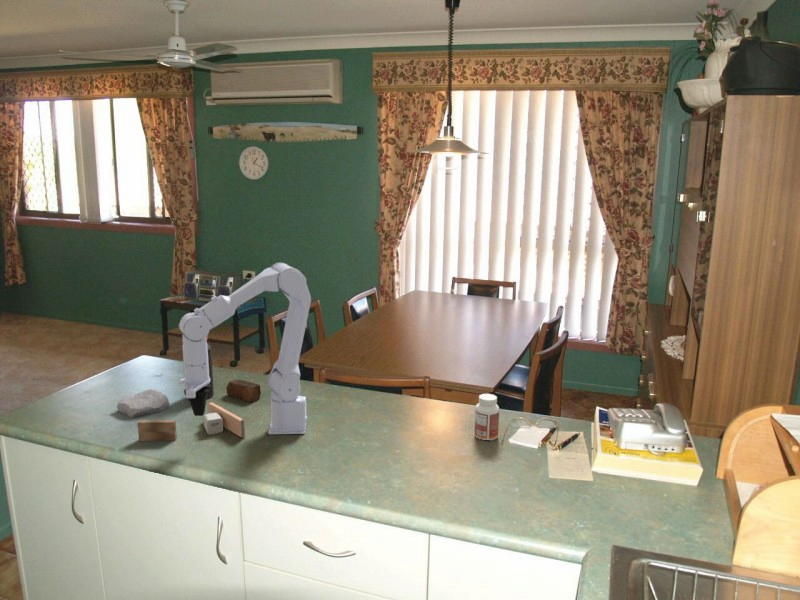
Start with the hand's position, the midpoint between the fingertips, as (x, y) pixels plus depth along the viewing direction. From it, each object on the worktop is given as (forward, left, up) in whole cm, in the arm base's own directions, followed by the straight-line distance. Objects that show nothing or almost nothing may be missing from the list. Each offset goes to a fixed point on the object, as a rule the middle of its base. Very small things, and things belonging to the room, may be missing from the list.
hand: (199, 414), depth 154 cm
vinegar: (+7, -33, -8) cm, 35 cm away
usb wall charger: (-1, -10, -8) cm, 13 cm away
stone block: (+21, -23, -9) cm, 32 cm away
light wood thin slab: (-5, -10, -8) cm, 13 cm away
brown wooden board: (+12, -3, -8) cm, 14 cm away
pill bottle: (-73, -2, -8) cm, 73 cm away
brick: (-5, -32, -9) cm, 33 cm away
